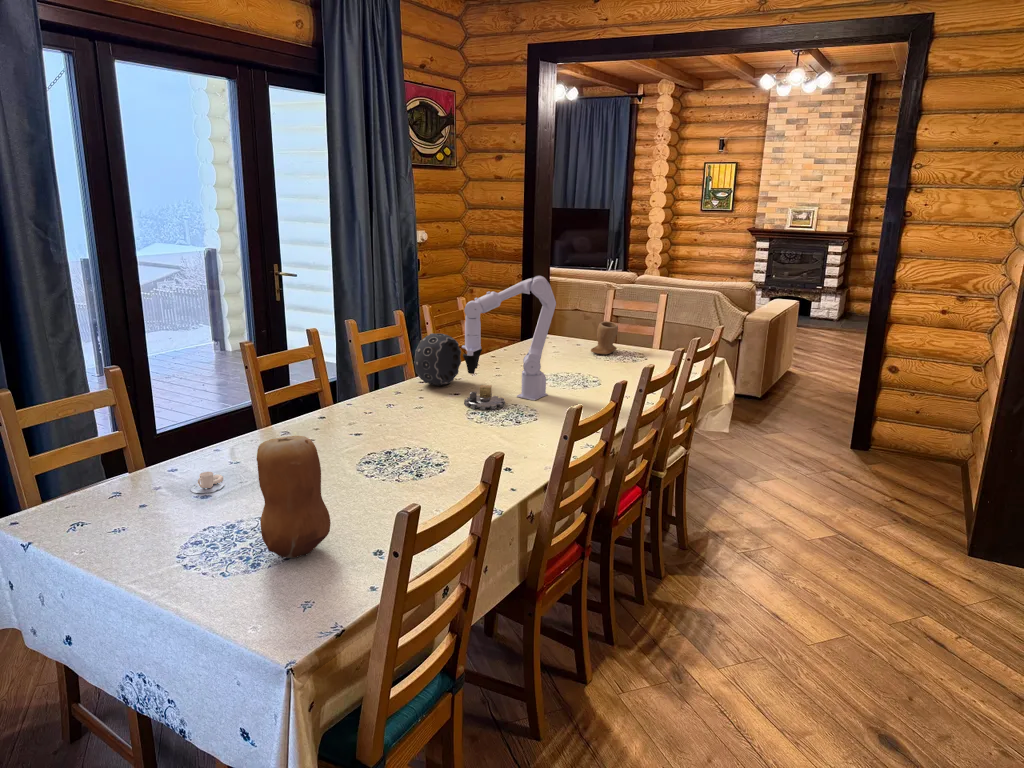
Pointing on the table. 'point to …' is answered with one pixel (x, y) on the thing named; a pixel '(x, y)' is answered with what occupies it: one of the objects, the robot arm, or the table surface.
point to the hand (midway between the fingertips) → (472, 370)
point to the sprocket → (483, 401)
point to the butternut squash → (291, 496)
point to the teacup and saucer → (209, 479)
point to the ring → (437, 359)
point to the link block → (486, 390)
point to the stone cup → (606, 338)
